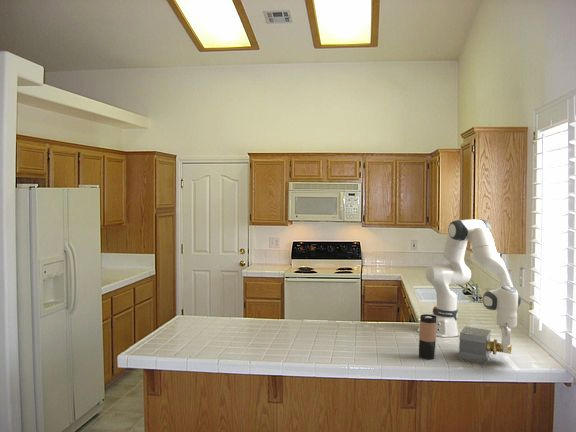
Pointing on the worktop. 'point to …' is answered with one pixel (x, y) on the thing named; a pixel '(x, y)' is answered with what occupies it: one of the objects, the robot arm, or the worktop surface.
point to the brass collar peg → (497, 347)
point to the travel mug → (427, 336)
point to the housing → (474, 345)
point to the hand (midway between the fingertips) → (505, 350)
